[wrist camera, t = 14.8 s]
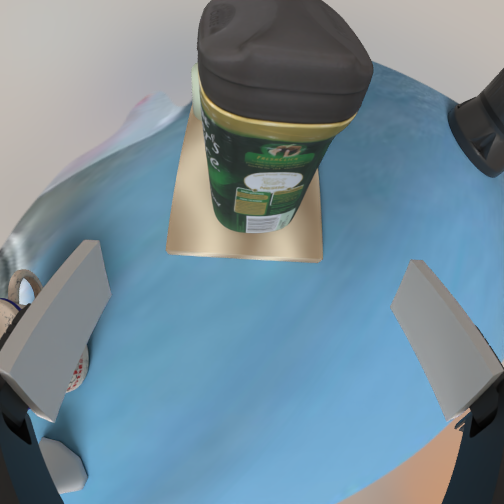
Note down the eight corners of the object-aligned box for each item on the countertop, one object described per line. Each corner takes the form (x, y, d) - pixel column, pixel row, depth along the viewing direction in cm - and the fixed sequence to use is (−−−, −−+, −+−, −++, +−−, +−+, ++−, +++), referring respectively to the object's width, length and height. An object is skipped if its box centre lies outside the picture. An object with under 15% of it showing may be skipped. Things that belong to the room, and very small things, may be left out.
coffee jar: (208, 149, 26) (201, -26, 8) (285, 148, 27) (340, -14, 9) (210, 240, 24) (181, 50, 6) (299, 235, 25) (418, 79, 7)
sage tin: (239, 106, 28) (245, 66, 22) (217, 128, 27) (220, 87, 21) (208, 92, 28) (209, 54, 22) (185, 113, 27) (182, 73, 21)
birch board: (306, 102, 31) (309, 95, 30) (317, 262, 26) (322, 259, 24) (197, 93, 30) (197, 85, 29) (169, 254, 25) (165, 250, 23)
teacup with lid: (98, 398, 20) (28, 433, 9) (33, 386, 19) (-38, 401, 8) (89, 278, 23) (14, 247, 12) (27, 280, 22) (-45, 255, 11)
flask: (37, 426, 18) (-15, 449, 8) (88, 454, 18) (42, 493, 9) (42, 469, 16) (0, 498, 7) (90, 496, 17) (55, 536, 7)
